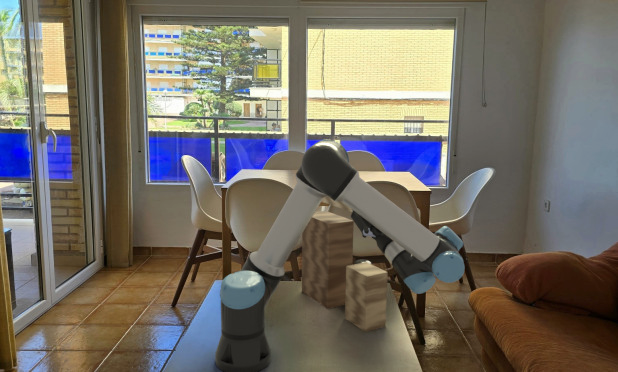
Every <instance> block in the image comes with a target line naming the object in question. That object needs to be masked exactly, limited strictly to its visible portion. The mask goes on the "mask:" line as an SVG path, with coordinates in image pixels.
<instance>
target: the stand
mask: <svg viewBox="0 0 618 372" xmlns="http://www.w3.org/2000/svg"><path fill="white" fill-rule="evenodd" d="M354 224H355V222H354V221H353V219H350V218H347V217H344V216H342V215H338V214H337V213H336V214H335V213H332V212H330V211H328V210H320V211H315V213H314V215H313V216H312V218H311V220H310V221H309V223H308V225H307V226H306V228H305V230H304V232H303V233H302V235H301V242H302V243H301V248H302V249H301V292H302V293H304V294H305V295H306V296H308V297H309V298H311V299H312V300H314V301H315V302H317V303H318V304H320V305H321V306H323V307H324V308H326V309H327V310H328V309H333V308H336V307H337V308H338V307H341V306H342V307H343V306H345V297H346V266H349V265H353V256H354V255H353V253H354Z"/></svg>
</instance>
